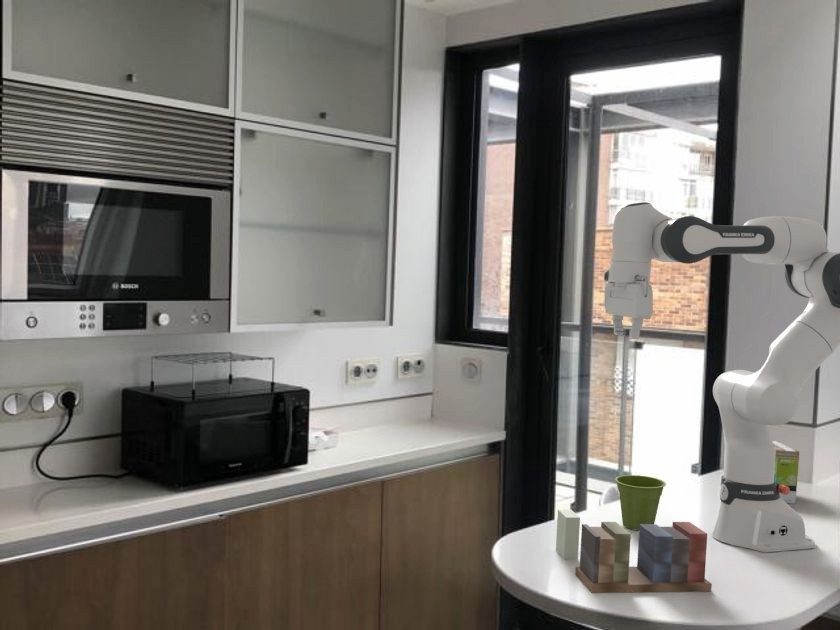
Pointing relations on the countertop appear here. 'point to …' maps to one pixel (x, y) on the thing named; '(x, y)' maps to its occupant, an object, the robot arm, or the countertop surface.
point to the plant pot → (639, 499)
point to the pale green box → (567, 534)
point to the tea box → (786, 470)
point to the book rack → (643, 559)
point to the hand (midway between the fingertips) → (626, 336)
